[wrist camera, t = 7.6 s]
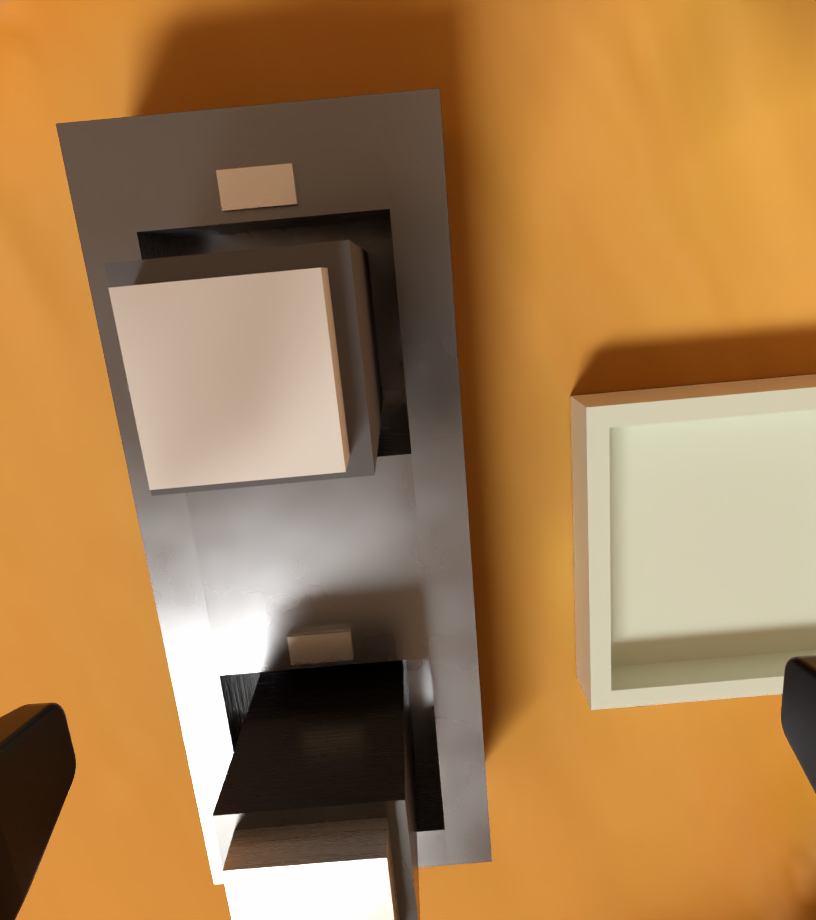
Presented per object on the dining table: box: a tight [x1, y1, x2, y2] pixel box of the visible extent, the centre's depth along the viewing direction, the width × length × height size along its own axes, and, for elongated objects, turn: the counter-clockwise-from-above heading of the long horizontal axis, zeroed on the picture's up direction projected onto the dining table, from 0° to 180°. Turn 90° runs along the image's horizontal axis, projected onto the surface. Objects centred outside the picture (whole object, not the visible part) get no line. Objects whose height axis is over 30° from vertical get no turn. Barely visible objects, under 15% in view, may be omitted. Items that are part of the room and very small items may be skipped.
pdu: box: [56, 88, 492, 920], centre depth 16 cm, size 8×20×8 cm, turn 5°
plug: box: [104, 240, 383, 496], centre depth 14 cm, size 4×4×8 cm
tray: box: [570, 374, 816, 710], centre depth 20 cm, size 9×9×2 cm
